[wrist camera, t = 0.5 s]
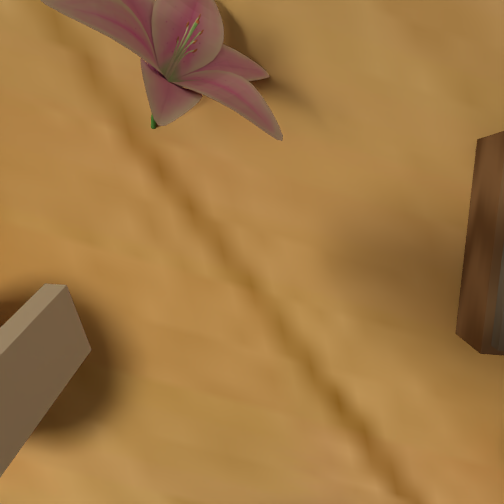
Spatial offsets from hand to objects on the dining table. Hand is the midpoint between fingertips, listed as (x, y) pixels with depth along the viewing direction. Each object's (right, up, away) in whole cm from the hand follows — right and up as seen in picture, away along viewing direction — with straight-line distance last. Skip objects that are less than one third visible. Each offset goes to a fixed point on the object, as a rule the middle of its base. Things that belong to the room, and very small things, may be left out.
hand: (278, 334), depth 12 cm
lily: (-4, +13, +15) cm, 20 cm away
